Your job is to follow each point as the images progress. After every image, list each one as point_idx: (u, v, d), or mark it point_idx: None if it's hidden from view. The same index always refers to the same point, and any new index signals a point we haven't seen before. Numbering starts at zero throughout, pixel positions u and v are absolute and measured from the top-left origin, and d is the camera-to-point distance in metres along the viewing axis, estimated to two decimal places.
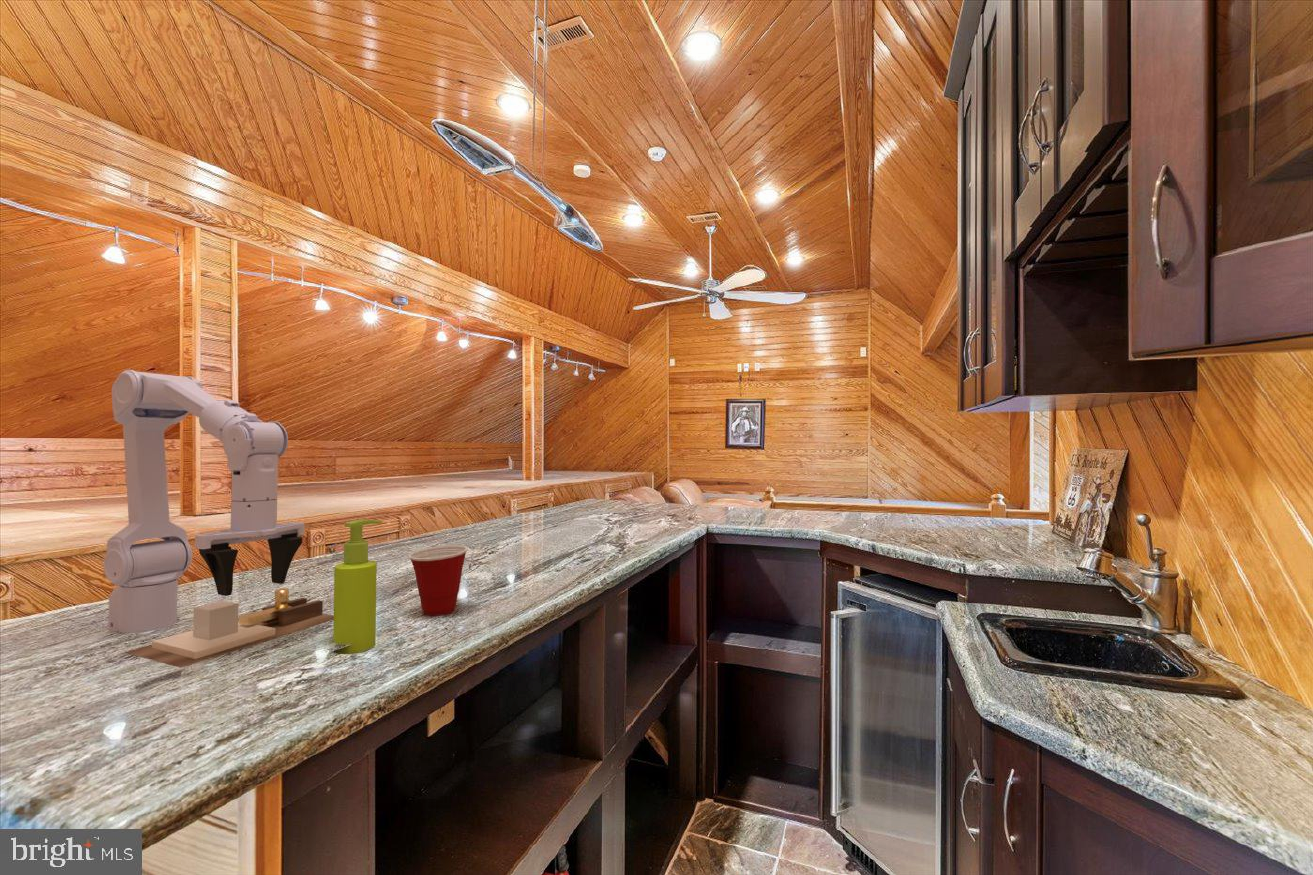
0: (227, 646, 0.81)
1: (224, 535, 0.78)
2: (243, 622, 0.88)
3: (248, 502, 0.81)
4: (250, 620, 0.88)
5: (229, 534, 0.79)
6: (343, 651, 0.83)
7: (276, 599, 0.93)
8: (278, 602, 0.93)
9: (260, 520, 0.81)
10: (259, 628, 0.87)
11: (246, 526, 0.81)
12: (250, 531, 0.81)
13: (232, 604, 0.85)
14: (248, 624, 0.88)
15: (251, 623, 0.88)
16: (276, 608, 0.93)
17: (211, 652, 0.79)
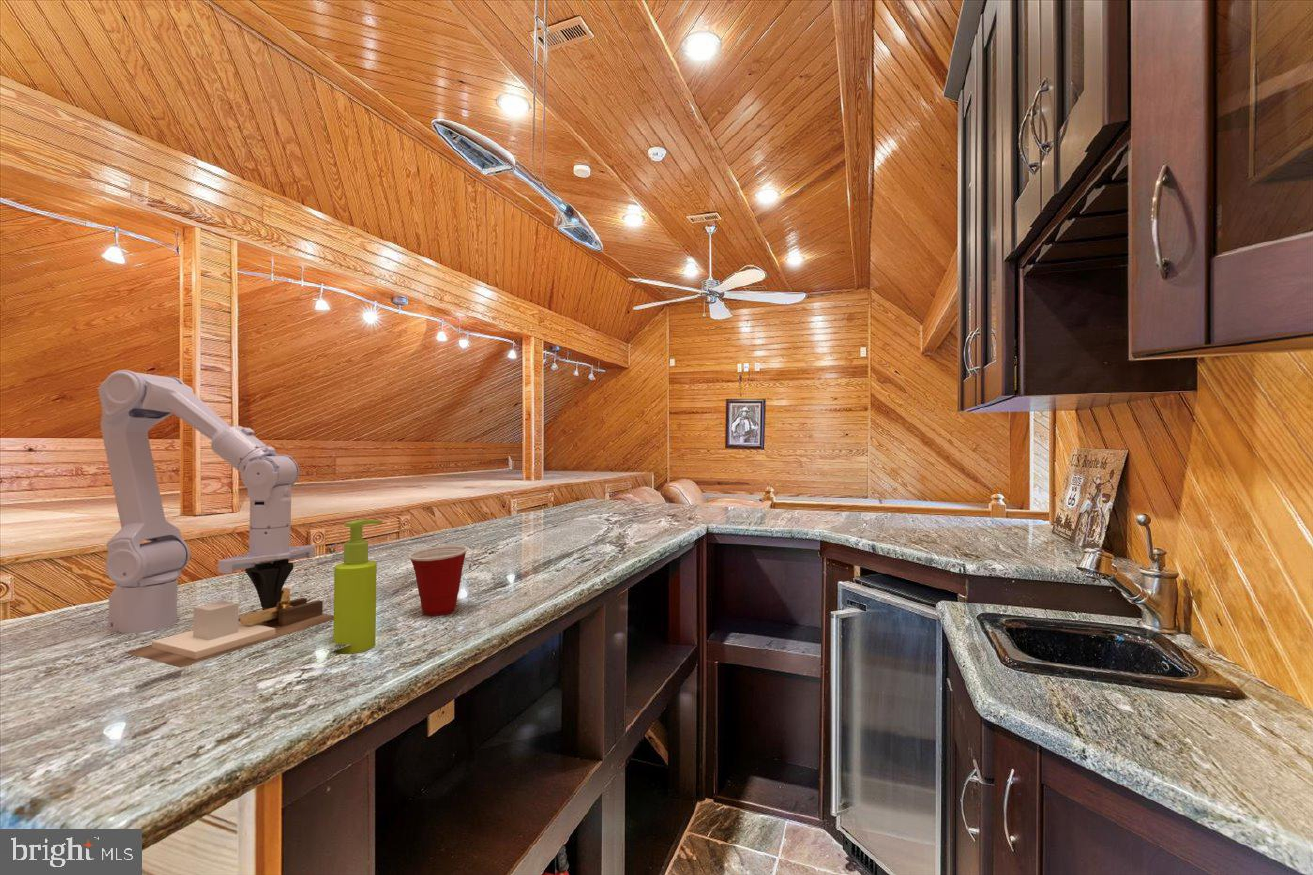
0: (227, 646, 0.81)
1: (244, 560, 0.87)
2: (244, 622, 0.88)
3: (265, 529, 0.89)
4: (252, 620, 0.88)
5: (248, 559, 0.87)
6: (343, 651, 0.83)
7: None
8: (279, 602, 0.93)
9: (276, 545, 0.90)
10: (259, 628, 0.87)
11: (263, 551, 0.89)
12: (267, 555, 0.89)
13: (232, 604, 0.85)
14: (249, 624, 0.88)
15: (252, 623, 0.88)
16: (277, 608, 0.93)
17: (211, 652, 0.79)
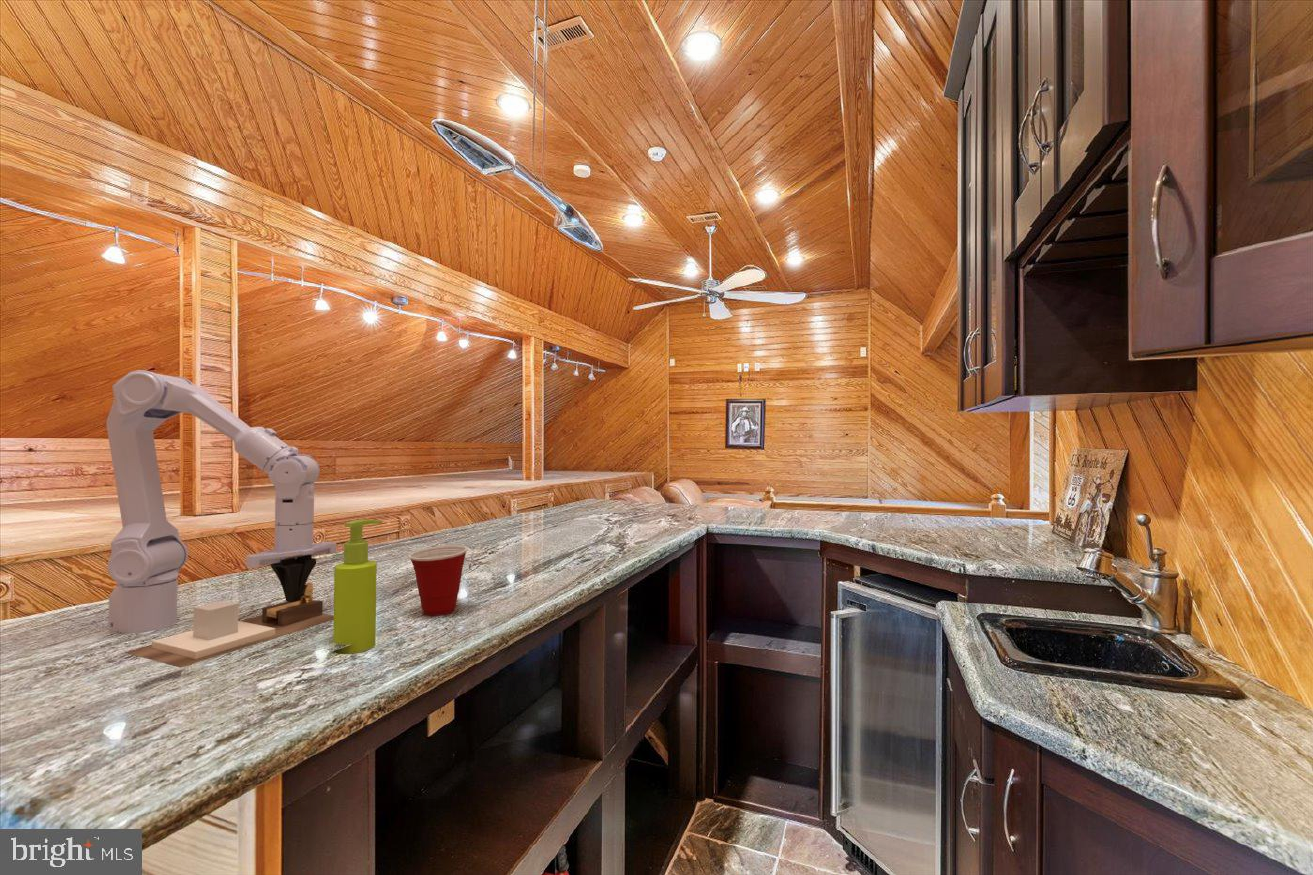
0: (227, 646, 0.81)
1: (271, 555, 0.91)
2: (271, 614, 0.92)
3: (290, 526, 0.93)
4: None
5: (275, 554, 0.91)
6: (343, 651, 0.83)
7: None
8: (303, 596, 0.97)
9: (300, 541, 0.94)
10: (259, 628, 0.87)
11: (288, 546, 0.93)
12: (292, 551, 0.93)
13: (232, 604, 0.85)
14: (276, 616, 0.92)
15: None
16: (301, 601, 0.97)
17: (211, 652, 0.79)
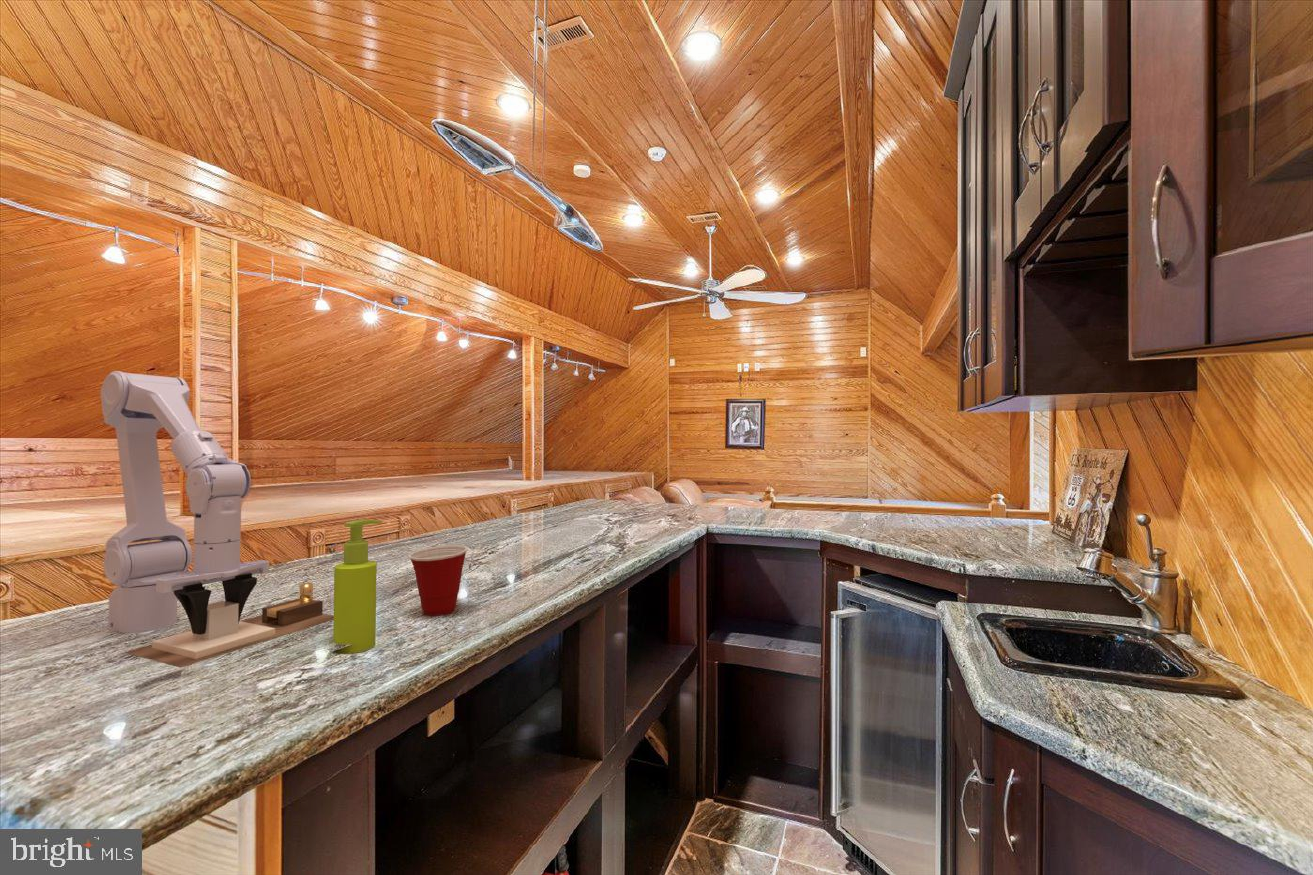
0: (227, 646, 0.81)
1: (185, 578, 0.79)
2: (271, 614, 0.92)
3: (210, 544, 0.82)
4: None
5: (191, 577, 0.80)
6: (343, 651, 0.83)
7: (301, 593, 0.97)
8: (303, 596, 0.97)
9: (222, 562, 0.83)
10: (259, 628, 0.87)
11: (208, 568, 0.82)
12: (212, 573, 0.82)
13: (232, 604, 0.85)
14: (276, 616, 0.92)
15: None
16: (301, 601, 0.97)
17: (211, 652, 0.79)
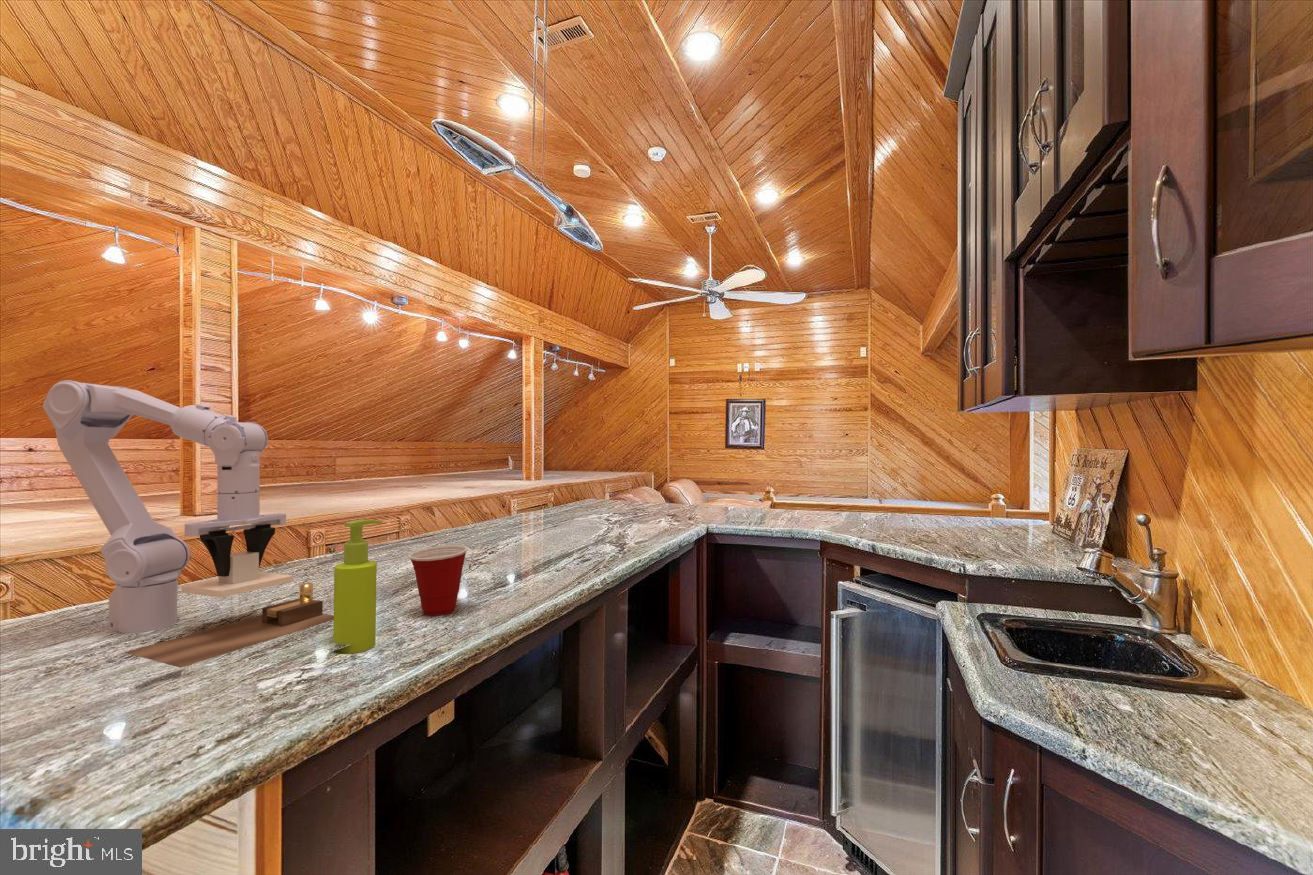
0: (249, 588, 0.88)
1: (211, 524, 0.87)
2: (271, 614, 0.92)
3: (232, 494, 0.89)
4: None
5: (215, 523, 0.87)
6: (343, 651, 0.83)
7: (301, 593, 0.97)
8: (303, 596, 0.97)
9: (243, 510, 0.90)
10: (278, 576, 0.95)
11: (230, 515, 0.89)
12: (234, 520, 0.89)
13: (253, 553, 0.92)
14: (276, 616, 0.92)
15: None
16: (301, 601, 0.97)
17: (235, 592, 0.86)
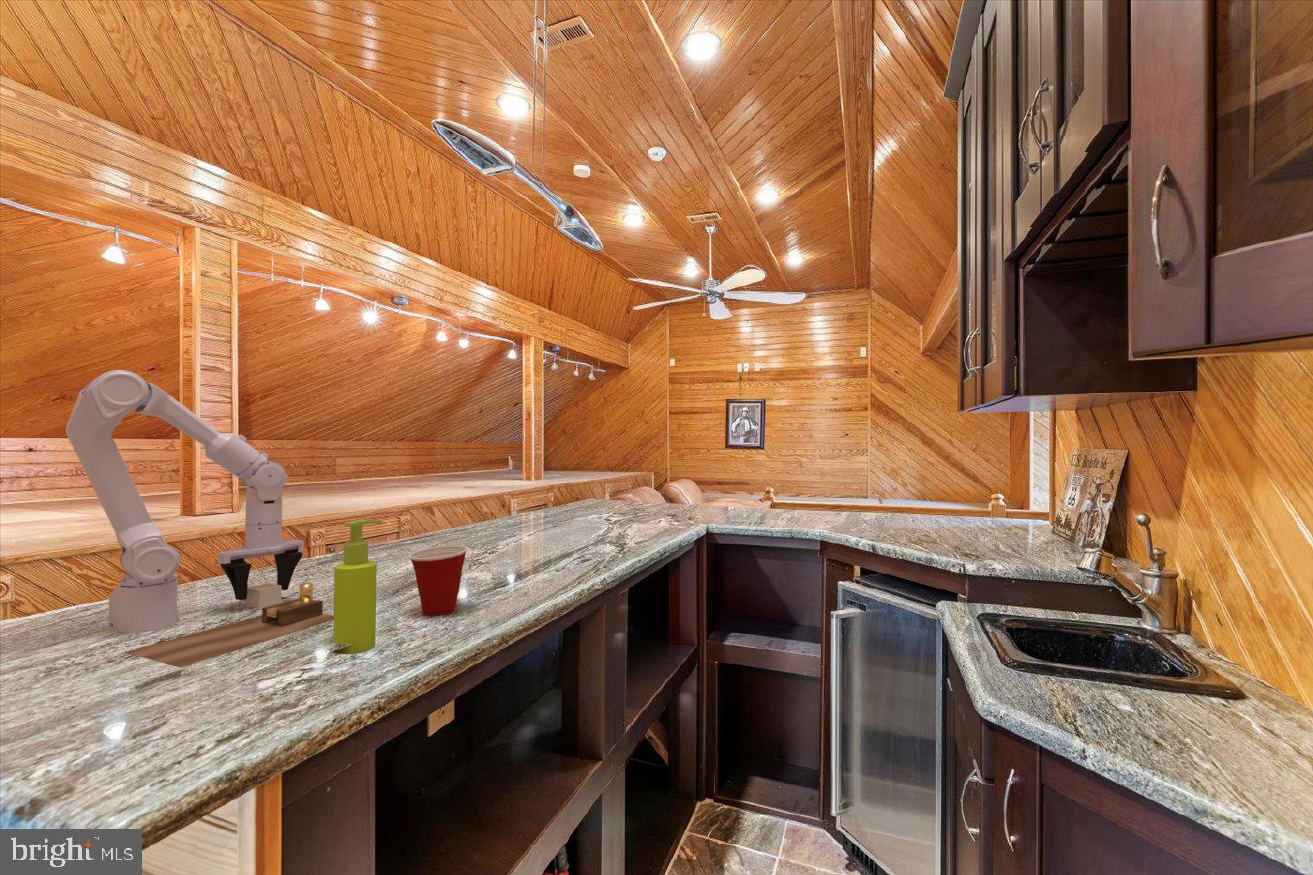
0: None
1: (240, 552, 0.99)
2: (271, 614, 0.92)
3: (259, 525, 1.02)
4: None
5: (244, 551, 1.00)
6: (343, 651, 0.83)
7: (301, 593, 0.97)
8: (303, 596, 0.97)
9: (268, 540, 1.02)
10: None
11: (257, 544, 1.01)
12: (261, 549, 1.02)
13: (276, 586, 1.05)
14: (276, 616, 0.92)
15: None
16: (301, 601, 0.97)
17: None
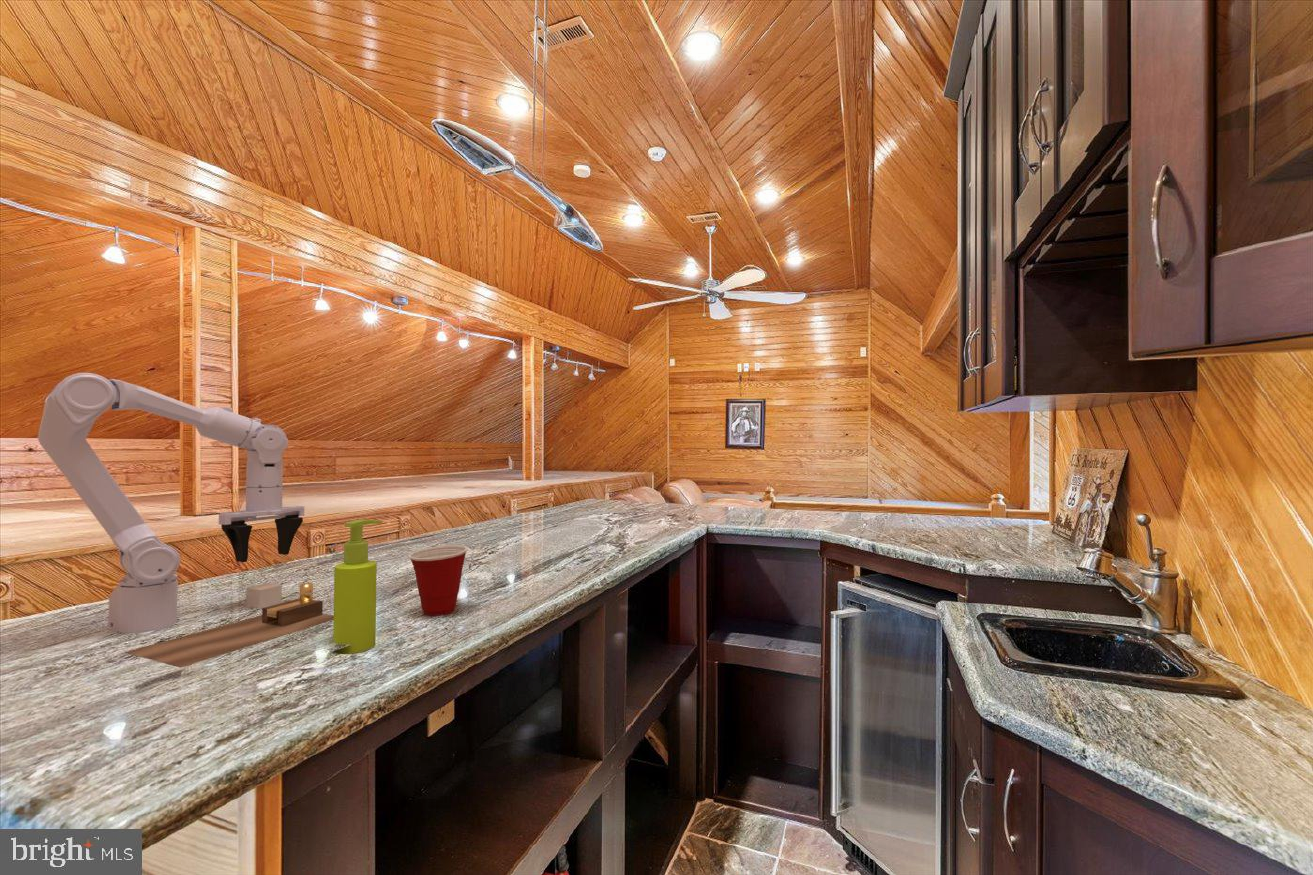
0: None
1: (241, 514, 0.99)
2: (271, 614, 0.92)
3: (260, 488, 1.02)
4: None
5: (245, 513, 1.00)
6: (343, 651, 0.83)
7: (301, 593, 0.97)
8: (303, 596, 0.97)
9: (269, 503, 1.03)
10: None
11: (258, 507, 1.02)
12: (261, 511, 1.02)
13: (276, 585, 1.05)
14: (276, 616, 0.92)
15: None
16: (301, 601, 0.97)
17: None
